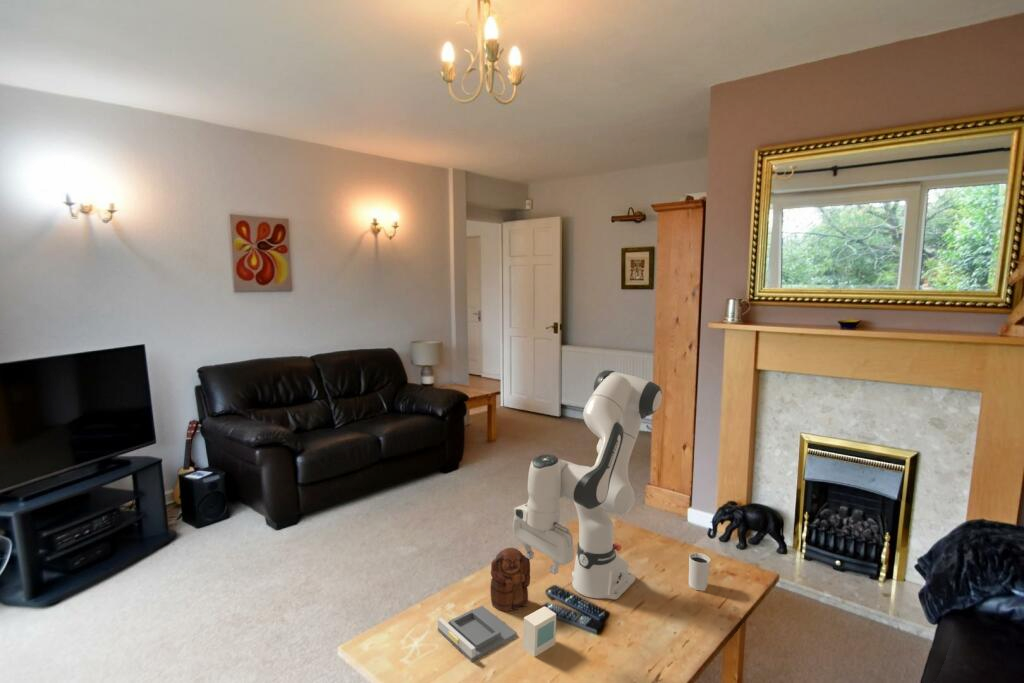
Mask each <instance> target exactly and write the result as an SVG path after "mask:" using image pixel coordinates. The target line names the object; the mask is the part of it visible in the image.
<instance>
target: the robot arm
mask: <svg viewBox="0 0 1024 683" xmlns="http://www.w3.org/2000/svg"><path fill="white" fill-rule="evenodd" d="M662 399H663V391H662V388H661V386H659V385H658V384H657V383H655V382H653V381H648V380H646V379H644V378H642V377H639V376H635V375H633V374H631V375H630V374H628V373H623V372H616V371H614V370H610V369H609V370H607V369H606V370H603V371H601V372H600V373H599V374H598V375H597V376H596V377H595V380H594V384H593V393H592V394H591V395H590V397H589V399H588V401H587V402H586V404H585V406H584V408H583V412H582V413H583V416H582V417H583V419H584V420H583V421H584V423H585V424H586V426H587V428H588V429H589V430H590V431H591V433H593V434H594V436H597V437H598V438H599V440H598V442H597V445H596V452H597V454H598V455H597V457H596V460H595V462H594V465H592V466H587V465H581V464H580V465H579V464H576V463H574V462H571V461H567V460H565V459H559V457H558V456H556V455H554V454H540V455H537V456H535V457H534V458H533V459H532V460H531V461H530V465H529V468H528V469H529V470H528V476H527V493H528V499H527V502H526V503H523V504H521V505H518V506H515V507H514V509H513V515H514V516H513V519H512V533H513V536H514V538H516V539H517V540H518V541H520V542H522V546H523V549H524V551H525V556H526V558H528V559H529V561H530V560H532V559H534V557H535V556H534V554H535V553H534V551H533V550H532V548H533V549H535V550H536V551H538V552H540V553H541V554H543V555H544V556H546V557H549V559H552V562H553V565H551V566H549V572H550V573H551V574H552V575H557V574H558V573H559V569H560V568H559V567H560V566H561V565H562V566H565V565H568V564H570V563H572V562H573V560H574V559H575V562H574V567H573V568H574V569H573V570H572V571H571V577H572V582H571V584H572V585H571V586H572V587H573V589H574V590H575V591H576V592H577V593H579V594H580V595H582V596H585V597H587V598H591V599H608V600H617V599H618V600H619V598H620V597H621V595H623V594H624V593H625V592H626V591H627V590H628V588H630V587H631V585H633V583H635V581H636V576H635V575H634V574H633V573H632V572H631V571H629V565H628V562H627V561H626V560H625V559H624V558H623V557H621V555H619V554H617V552H620V551H621V550H622V546H621V544H618V543H616V542H615V543H614V530H615V526H614V522H613V520H612V518H611V517H610V516H609V514H613V515H620V516H623V515H625V514H627V513H628V512H629V511H631V509H632V508H633V506H634V503H635V500H636V499H635V491H634V488H633V487H632V485H631V482H630V478H629V462H630V458H631V455H632V452H633V450H634V446H635V444H636V441H637V439H638V436H639V432H640V430H641V425H642V421H643V420H642V419H646V417H650V416H651V415H653V414H655V413H656V412H657V411H658V409H659V407H660V405H661V403H662ZM562 498H563V499H565V500H569V501H571V502H573V504H574V505H575V506H574V507H575V509H576V510H575V511H576V513H577V517H578V525H579V526H578V528H579V529H578V542H577V547H576V550H577V551H576V555H575V548H574V540H573V534H572V533H571V531H570V530H569V528H567V527H565V526H563V525H562V524H560V521H561V520H560V518H561V503H560V499H562ZM608 513H609V514H608ZM616 551H617V552H616Z"/></svg>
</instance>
